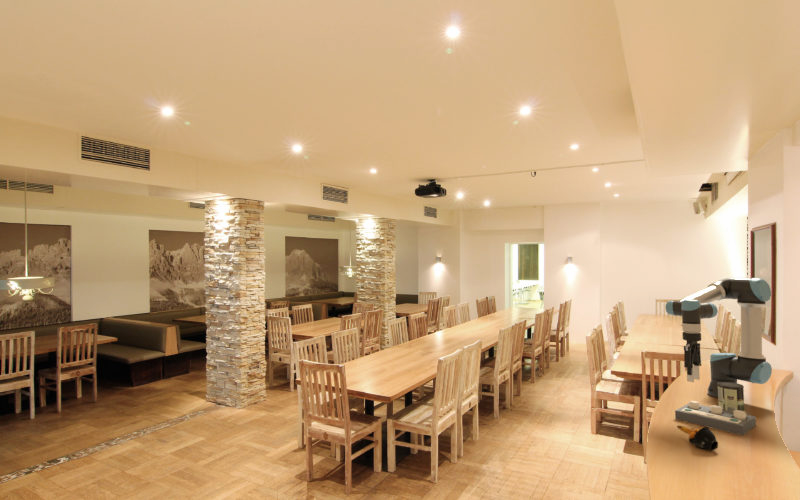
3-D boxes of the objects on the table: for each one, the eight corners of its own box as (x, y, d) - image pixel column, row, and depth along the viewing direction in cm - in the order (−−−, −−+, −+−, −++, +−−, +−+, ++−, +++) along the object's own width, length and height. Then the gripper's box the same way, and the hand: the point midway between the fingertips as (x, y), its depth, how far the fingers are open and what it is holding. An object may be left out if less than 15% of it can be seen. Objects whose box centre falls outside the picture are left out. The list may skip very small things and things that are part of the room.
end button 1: (691, 410, 216) (690, 400, 216) (701, 412, 213) (701, 402, 213) (687, 412, 213) (687, 402, 214) (697, 414, 210) (697, 404, 210)
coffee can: (737, 410, 219) (736, 382, 219) (749, 418, 209) (748, 387, 209) (714, 409, 221) (713, 381, 222) (724, 416, 211) (723, 386, 211)
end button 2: (735, 420, 202) (735, 409, 202) (747, 423, 198) (747, 411, 198) (732, 422, 199) (732, 411, 199) (744, 425, 196) (744, 414, 196)
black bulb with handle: (706, 443, 170) (665, 414, 186) (706, 463, 174) (667, 433, 190) (724, 432, 172) (682, 404, 188) (724, 452, 176) (684, 423, 192)
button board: (690, 410, 220) (690, 401, 220) (755, 425, 199) (755, 415, 200) (675, 419, 209) (675, 409, 209) (742, 435, 188) (742, 424, 189)
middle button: (712, 415, 209) (712, 404, 209) (723, 417, 205) (723, 406, 206) (709, 417, 206) (708, 406, 206) (720, 420, 203) (720, 408, 203)
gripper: (690, 329, 223) (692, 375, 222) (674, 333, 211) (676, 382, 211) (708, 330, 217) (709, 378, 216) (692, 335, 205) (694, 385, 205)
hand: (693, 380), depth 213 cm, fingers open, 6 cm apart
